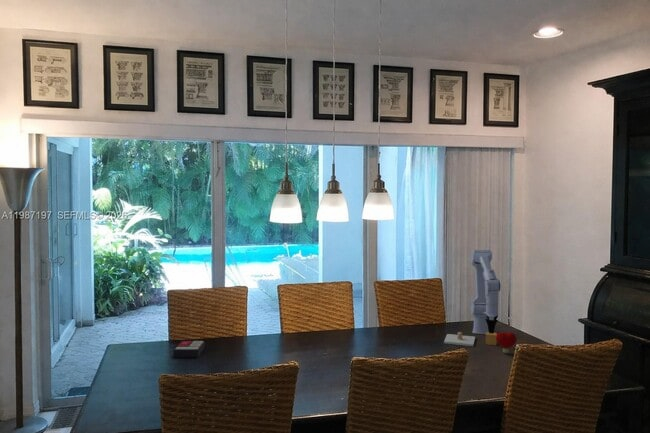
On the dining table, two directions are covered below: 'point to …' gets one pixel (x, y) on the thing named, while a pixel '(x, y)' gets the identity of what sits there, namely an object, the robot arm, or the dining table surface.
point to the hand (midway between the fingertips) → (491, 331)
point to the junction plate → (459, 339)
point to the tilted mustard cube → (491, 338)
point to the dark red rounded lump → (506, 340)
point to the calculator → (189, 349)
